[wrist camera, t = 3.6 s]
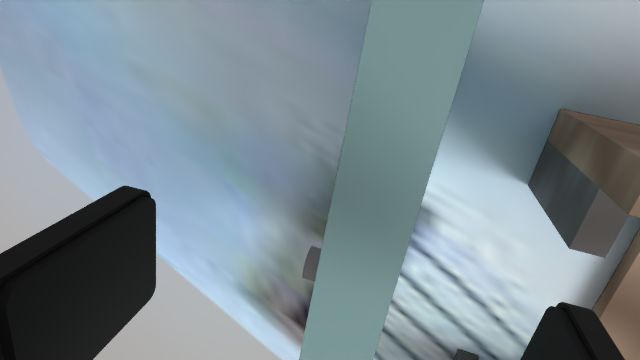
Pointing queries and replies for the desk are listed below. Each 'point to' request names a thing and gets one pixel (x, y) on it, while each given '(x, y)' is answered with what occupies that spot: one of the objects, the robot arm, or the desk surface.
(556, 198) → the cabinet
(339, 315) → the door panel
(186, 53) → the desk surface
